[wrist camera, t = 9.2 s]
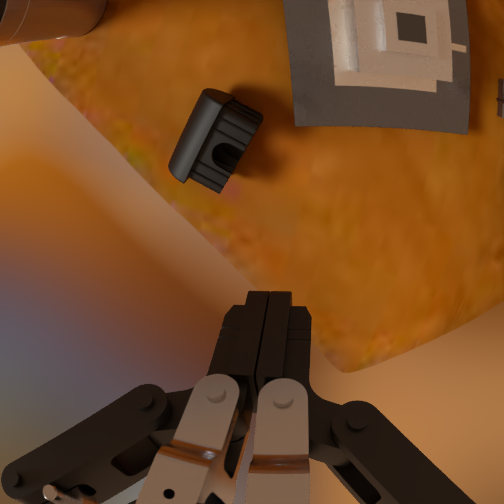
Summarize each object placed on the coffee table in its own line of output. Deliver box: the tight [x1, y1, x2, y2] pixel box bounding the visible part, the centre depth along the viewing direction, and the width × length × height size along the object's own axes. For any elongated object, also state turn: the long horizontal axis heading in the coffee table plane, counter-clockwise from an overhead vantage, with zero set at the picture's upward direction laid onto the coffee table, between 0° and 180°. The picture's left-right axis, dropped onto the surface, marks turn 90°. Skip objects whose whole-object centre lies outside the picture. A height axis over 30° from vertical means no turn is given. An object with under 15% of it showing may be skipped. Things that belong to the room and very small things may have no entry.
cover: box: [342, 0, 452, 82], centre depth 21 cm, size 8×8×9 cm
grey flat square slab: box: [283, 0, 470, 135], centre depth 25 cm, size 20×20×2 cm
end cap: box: [168, 88, 263, 194], centre depth 34 cm, size 10×7×7 cm
